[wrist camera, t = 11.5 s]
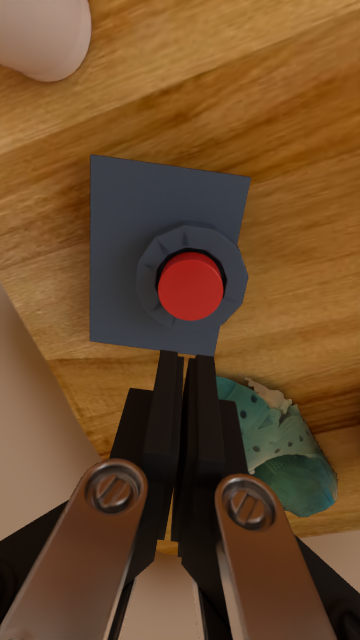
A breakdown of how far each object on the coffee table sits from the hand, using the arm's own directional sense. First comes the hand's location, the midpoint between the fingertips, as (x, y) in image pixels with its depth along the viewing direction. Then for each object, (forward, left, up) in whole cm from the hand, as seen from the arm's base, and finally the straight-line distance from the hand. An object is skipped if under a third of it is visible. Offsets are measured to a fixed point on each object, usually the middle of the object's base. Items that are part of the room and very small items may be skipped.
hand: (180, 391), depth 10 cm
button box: (0, -2, -14) cm, 14 cm away
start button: (0, 0, -10) cm, 10 cm away
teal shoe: (+16, +9, -14) cm, 23 cm away
